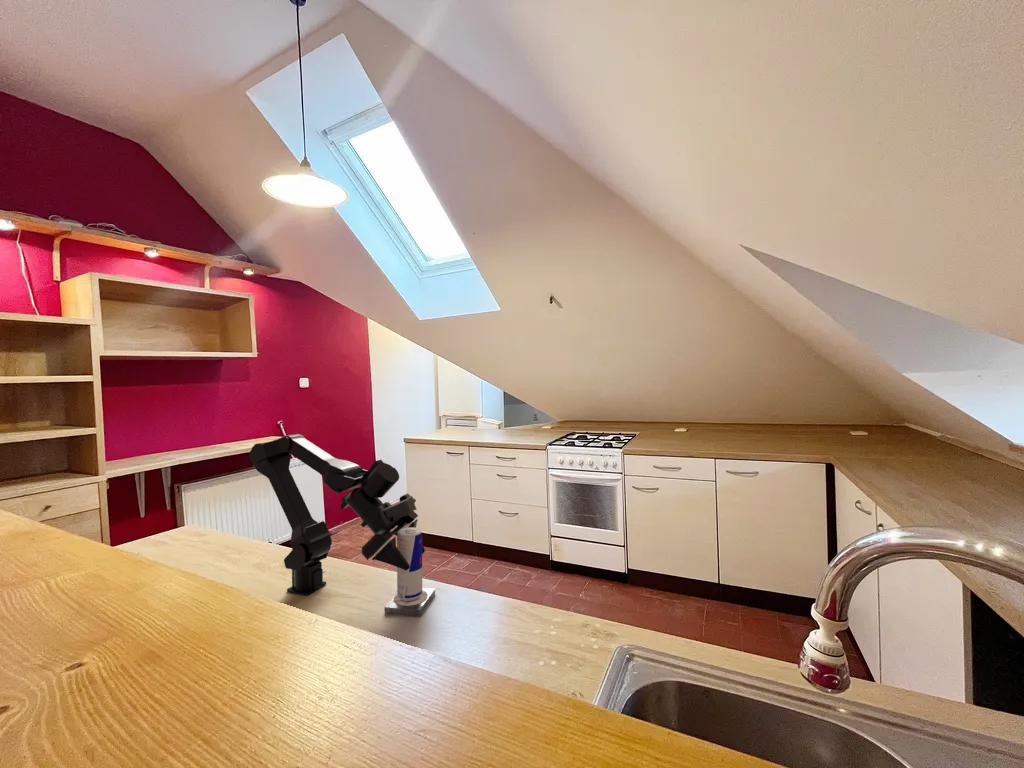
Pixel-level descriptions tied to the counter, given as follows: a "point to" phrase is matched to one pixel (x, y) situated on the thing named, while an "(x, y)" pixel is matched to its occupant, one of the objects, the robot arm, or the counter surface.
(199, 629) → the counter surface
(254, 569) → the counter surface
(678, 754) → the counter surface
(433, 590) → the plate
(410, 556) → the beverage can
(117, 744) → the counter surface
